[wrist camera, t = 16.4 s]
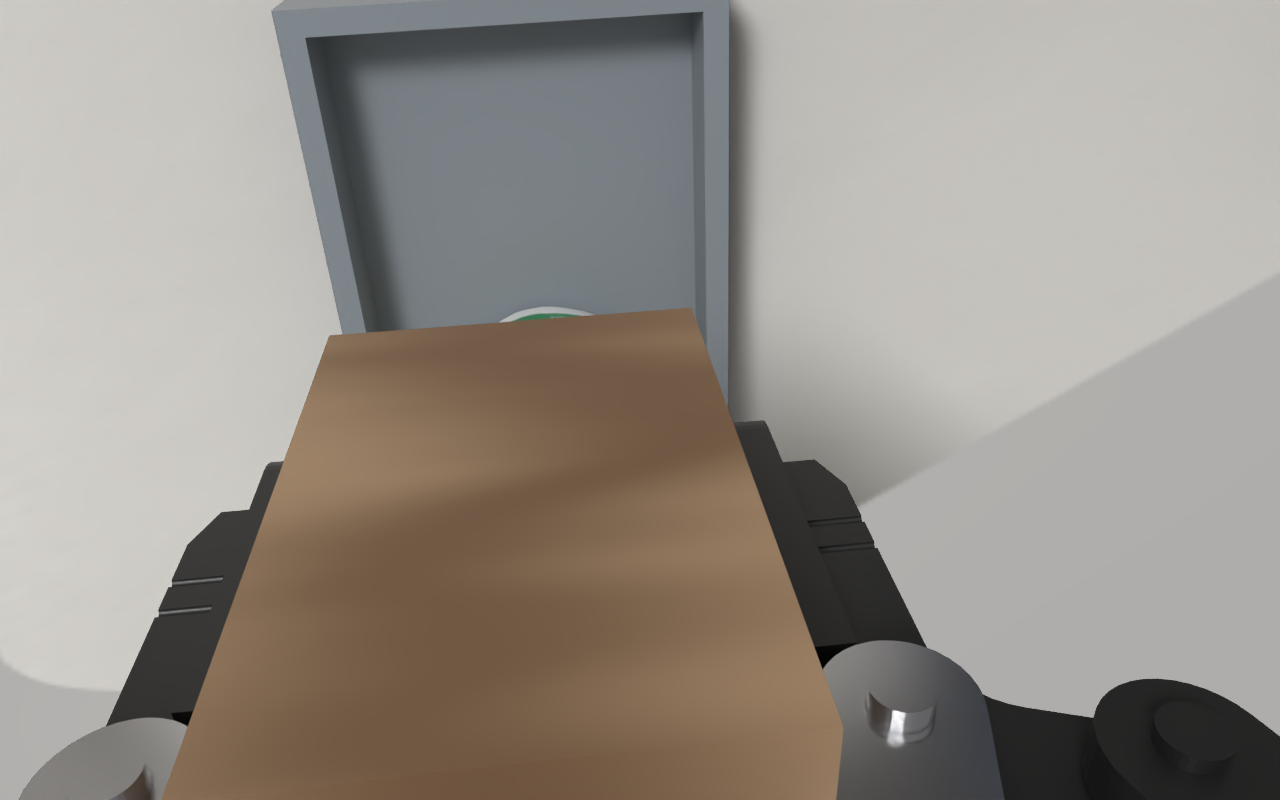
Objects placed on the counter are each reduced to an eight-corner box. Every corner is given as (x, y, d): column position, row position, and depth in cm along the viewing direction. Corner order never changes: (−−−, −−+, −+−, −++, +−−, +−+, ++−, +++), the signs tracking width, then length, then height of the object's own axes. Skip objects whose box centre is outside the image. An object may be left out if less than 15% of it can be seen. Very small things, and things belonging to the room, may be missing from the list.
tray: (710, -33, 25) (729, -18, 22) (713, 469, 32) (727, 516, 30) (292, -7, 24) (271, 10, 22) (398, 501, 32) (390, 550, 29)
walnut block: (691, 307, 11) (842, 726, 6) (693, 580, 13) (808, 1070, 8) (329, 335, 11) (159, 803, 6) (389, 610, 13) (303, 1139, 8)
